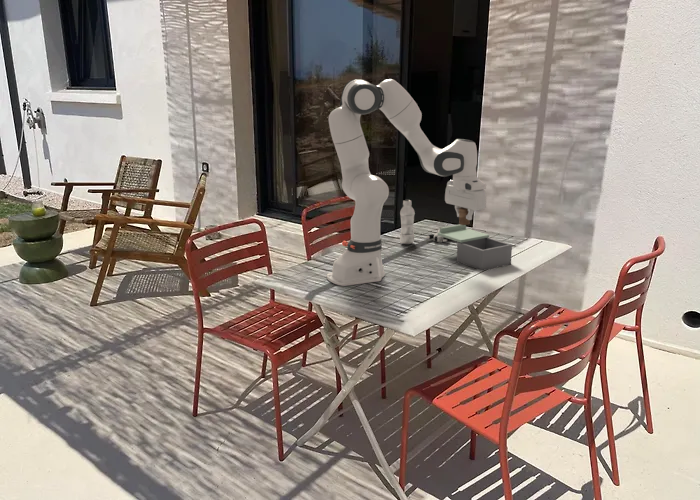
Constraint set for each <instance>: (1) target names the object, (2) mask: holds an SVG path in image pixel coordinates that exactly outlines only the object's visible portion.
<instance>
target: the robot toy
mask: <svg viewBox="0 0 700 500" xmlns="http://www.w3.org/2000/svg"><path fill="white" fill-rule="evenodd" d="M439 232H440V228H439V229H437V231H436V233H434V234H432V233H431V234H428V235H427V236H425V238H426V239H428V240H432V239H433V242H435V243H441V242H442V243H447V242H448V240H449V239H448V238H445V237H442V236H439V235H438V233H439Z"/></svg>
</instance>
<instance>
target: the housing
mask: <svg viewBox="0 0 700 500" xmlns="http://www.w3.org/2000/svg"><path fill="white" fill-rule="evenodd" d="M456 246H457V247H456V248H457V249H456V262H458V263H461V264H463V265H465V266H469V267H471V268H474V269H476V270H479V271H481V272H483V271H488V270H491V269H495V268H496V269H497V268H500V267H504V266H509V265H512V256H513V255H512V254H513V253H512V252H513V251H512V250H513V245H512V244H510V243H508V242H504V241H501V240H497V239H494V238H492V237H488V238H482V239H477V240H472V241H467V242H462V243H460V242H457V241H456Z"/></svg>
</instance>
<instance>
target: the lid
mask: <svg viewBox="0 0 700 500" xmlns="http://www.w3.org/2000/svg"><path fill="white" fill-rule="evenodd" d="M439 229H440V232H439V233H438V235H439V236H442V237H445V238H448V240H452V241H455V242H456V243H457V242H460V243H462V242H467V241H472V240H477V239H482V238H490V234H488V233H484V232H480V231H477V230H474V229H471V228H467V225H460V224H459V223H458V224H454V225H448V226H447V225H446V226H443V227H439Z"/></svg>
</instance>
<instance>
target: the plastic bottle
mask: <svg viewBox="0 0 700 500" xmlns="http://www.w3.org/2000/svg"><path fill="white" fill-rule="evenodd" d="M415 212H416V211H415V209H414V208H413V206H412V200H410V199H405V200H402V207H401V209H400V212H399V214H400V225H401V227H400V236H399V241H400V243H401V244H402V245H411V244H414V242H415V239H416V238H415V233H414V221H415V214H416V213H415Z"/></svg>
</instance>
